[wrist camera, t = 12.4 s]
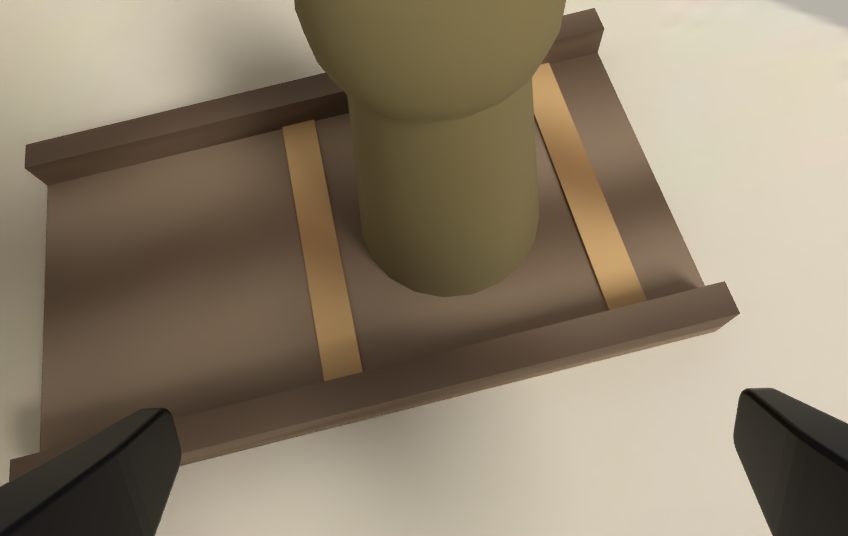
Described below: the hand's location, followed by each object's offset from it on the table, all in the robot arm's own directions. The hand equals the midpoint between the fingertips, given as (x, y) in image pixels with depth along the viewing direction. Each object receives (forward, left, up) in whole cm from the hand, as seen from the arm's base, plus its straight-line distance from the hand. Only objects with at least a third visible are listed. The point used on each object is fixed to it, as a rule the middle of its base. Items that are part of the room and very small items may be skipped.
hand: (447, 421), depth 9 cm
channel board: (+8, +2, -9) cm, 12 cm away
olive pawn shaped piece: (+8, -2, -8) cm, 12 cm away
